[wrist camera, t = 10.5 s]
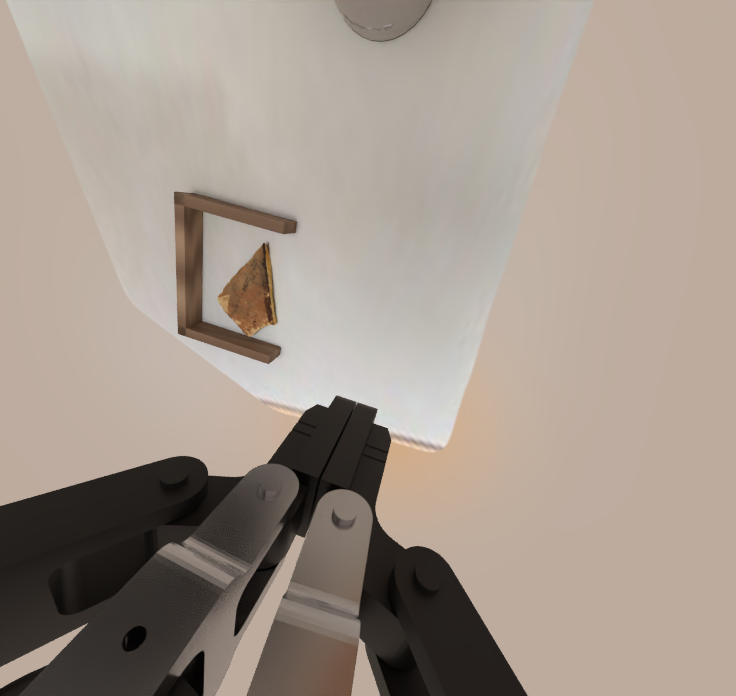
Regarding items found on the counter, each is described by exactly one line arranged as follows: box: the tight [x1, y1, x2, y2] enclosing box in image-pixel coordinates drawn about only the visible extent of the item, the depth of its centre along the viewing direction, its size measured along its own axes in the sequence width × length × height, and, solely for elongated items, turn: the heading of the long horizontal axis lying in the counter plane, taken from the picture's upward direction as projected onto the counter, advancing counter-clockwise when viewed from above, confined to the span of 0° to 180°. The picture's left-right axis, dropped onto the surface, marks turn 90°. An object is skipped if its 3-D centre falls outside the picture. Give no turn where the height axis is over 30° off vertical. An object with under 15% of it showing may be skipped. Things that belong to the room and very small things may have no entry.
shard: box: [218, 243, 277, 337], centre depth 40 cm, size 11×8×2 cm
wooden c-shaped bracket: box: [174, 192, 297, 364], centre depth 39 cm, size 17×13×3 cm
